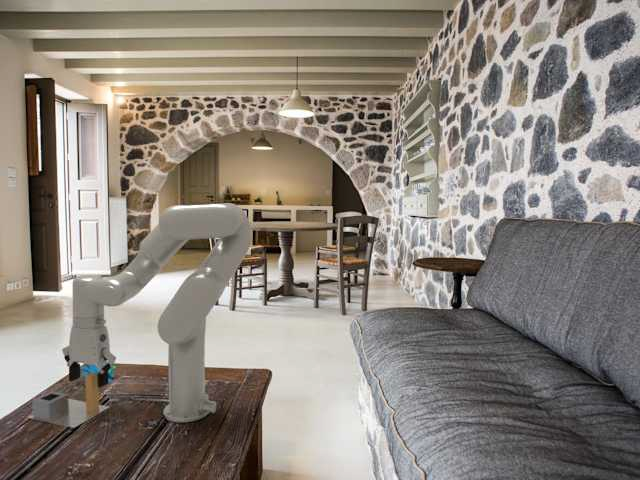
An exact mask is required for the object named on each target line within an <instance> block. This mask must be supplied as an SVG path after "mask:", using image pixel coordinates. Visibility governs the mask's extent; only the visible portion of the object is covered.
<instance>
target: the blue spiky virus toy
mask: <svg viewBox="0 0 640 480" xmlns="http://www.w3.org/2000/svg"><path fill="white" fill-rule="evenodd" d="M99 361H101V360H99ZM101 365H102V367H104V365H103V364H101ZM116 368H117V367H116V365H113V367H112V368H111V369H110V370H109V371H108V383H111V382H113V380H112V379H113V378H114V376H115V373H113V371H114V370H115V369H116ZM80 371H82V372H83V373H82V375H81V377H82V378H84V379H85V375H87V374H90V373H97V374H98V373H100V372H99V370H98V369H97V367H96V365H89V364H84V365H83V366H82V367H81V368H80Z"/></svg>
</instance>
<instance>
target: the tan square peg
mask: <svg viewBox="0 0 640 480" xmlns="http://www.w3.org/2000/svg"><path fill="white" fill-rule="evenodd" d="M97 375H98V374H97V373H90V374H88V373H87V375H85V378H84V385H85V402H86V411H89V412H94V411H96V410H98V409H99V405H100V394H99V387H98V386H97Z"/></svg>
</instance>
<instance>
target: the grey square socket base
mask: <svg viewBox="0 0 640 480" xmlns="http://www.w3.org/2000/svg"><path fill="white" fill-rule="evenodd" d="M31 402H32V407H31V408H32V414H31V415H28V416H27V417H26V418H27V419H32V420H37V421H41V422H46V423H51V424H55V425H59V426H64V427H70V428H73V429H74V428H76V427H79V425H81V424H83V423H85V422H86V421H89V420H90V419H92V418H94V417H95V416H97V415H98V414H100V413H103V411H105V410H107V409H108V408H109V409H110V406H108V405H104V404H103V405H102V404H99V409H98V410H96V411H94V412H89V411H86V401H83V400H78V399H73V398H69V394H68V393H64V392H58V391H52V390H51V391H49V392H47V393H44V394H42V395H40V396H38V397H36V398H34V399H32V401H31Z"/></svg>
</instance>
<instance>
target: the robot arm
mask: <svg viewBox="0 0 640 480" xmlns="http://www.w3.org/2000/svg"><path fill="white" fill-rule="evenodd" d="M203 239H204V240H205V239H217V241H216V243H215V245H214V246H213V247H212V249H211V250H210V251H209V254H208V255H207V256H206V258H205V260H204V261H203V262H202V264H200V266H199V268H197V270H195V271H194V272H192V273H191V274H190V275H188V276H187V277H186V279H184V281H183V283H182V284H181V285H180V286H179V288H178V289H177V290H176V292H175V294H174V295H173V297H172V298H171V300H169V301H170V302H169V303H168V304H167V306H166V307H165V309H164V310H163V312H162V313H161V315H160V317H159V319H158V321H157V322H158V323H157V331H158V335H159V337H160V339H161V340H162V341H163V342H164V343H166V344H168V351H167V352H168V354H167V355H168V358H167V359H168V363H167V364H168V366H167V367H168V404H166V406H165V407H164V409H163V411H162V412H163V417H164V419H166V421H170V422H173V423H190V422H195V421H198V420H201V419H203V418H205V417H206V416H208V415H209V414H210V413H211V414H214V413H215V412H216V410H217V404H218V403H217V401H215V400H210V399H209V397H210V396H209V394H207V393H206V378H205V375H206V373H205V371H206V370H205V368H206V366H205V365H206V363H205V356H206V354H205V351H206V350H205V348H206V347H205V346H206V345H205V343H206V327H207V326H206V325H207V324H206V323H207V317H208V315H209V313H210V312H211V311H212V310H213V308H214V307H215V305H216V303H217V302H218V301H219V299H220V298H221V297H222V295H223V293H224V291H225V289H226V287H227V286H228V284H229V283H230V281H231V279H232V278H233V276H234V275H235V273H236V272H237V270H238V268H239V267H240V265H241V263H242V262H243V260H244V259H245V257H246V255H247V253H248V251H249V249H250V245H251V241H252V227H251V222H250V221H249V218H248V215H247V214H246V212H245V211H244V210H243V209H242V208H241V207H240V206H238V205H237V204H235V203H231V202H225V203H211V204H196V205H194V204H193V205H186V204H177V205H170V206H169V207H167V208H166V209H164V210H163V211H162V212H161V213H160V215H159V218H158V224H157V225H156V226H155V227H154V228H153V229H152V230H151V231H150V232H149V233H148V234H147V235H146V236H145V237H144V238H143V239H142V240H141V241H140V243H139V251H138V253H137V255H136V256H135V258H133V260H132V261H131V262H130V263H129V264H128V265H127V266H126V267H125V268H124V269H123V270H122V271H121V272H120V273H119V274H116V275H114V276H111V277H108V278H104V277H103V276H101V275H98V274H82V275H78V276H76V277H74V278H73V280H72V325H71V329H70V333H69V343H68V344H69V345H67V346H65V347H63V348H62V349H61V350H62V351H61V352H62V353H63V356H64V360H65V362H66V366H67V367H68V381H69V382H73V381H76V380H78V379H80V378H81V364H83V365H85V364H89V365H90V366H92V365H96V367H97V369H98V370H99V372H100V373H98V375H97V386H98V389H102V387H105V386H107V385H108V384H109V382H108V377H109V375H108V371H109V370H110V369H111V368H112V367H113V366H115V365H114V364H115V363H116V360H117V356H116V355H114V354H113V353H112V352H111V348H110V347H111V345H110V337H109V336H110V335H109V332H108V327H107V325H105V324H106V322H107V319H105V306H106V307H118V306H121V305H122V304H124V303H126V302H127V301H129V300H131V299H132V298H134V297H136V296H137V295H138V294H139V293H140V292H142V290H143V289H144V288H145V287H146V286H147V285H148V284H149V282H151V281H152V280H153V279H154V278H155V276H157V275H158V273H159V272H160V270H162V269H163V268H164V267H165V265H166V264H167V263H168V262H169V260H171V259H172V258H173V257H174V255H175V254H176V253H178V251H179V250H181V249H182V247H183V246H185V244H186V243H187V242H188V241H190V240H203ZM99 360H101V361H99ZM102 364H103V365H104V367H102Z"/></svg>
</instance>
